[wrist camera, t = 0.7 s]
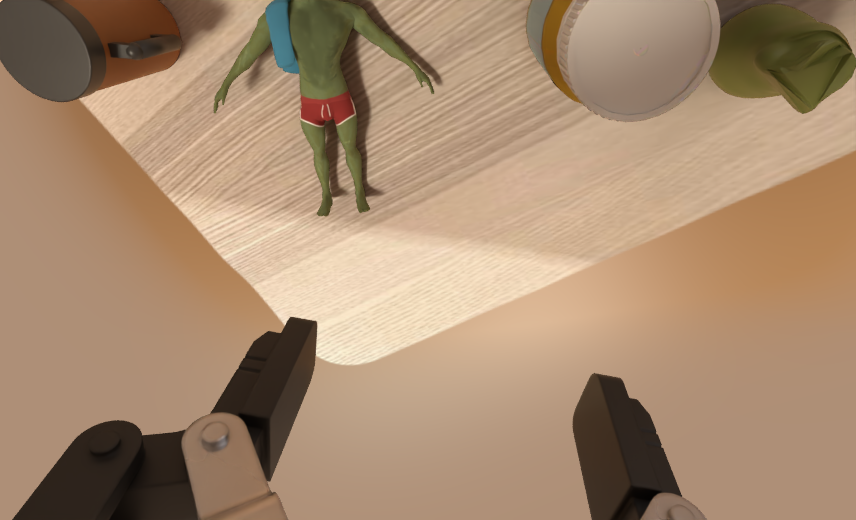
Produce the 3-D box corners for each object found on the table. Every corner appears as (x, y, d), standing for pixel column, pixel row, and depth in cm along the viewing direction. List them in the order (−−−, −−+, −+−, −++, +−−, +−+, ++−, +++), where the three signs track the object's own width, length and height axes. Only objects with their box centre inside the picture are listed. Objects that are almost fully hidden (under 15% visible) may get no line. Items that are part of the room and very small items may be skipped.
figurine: (243, 227, 38) (162, -42, 29) (254, 205, 42) (184, -43, 32) (441, 207, 39) (426, -63, 29) (436, 187, 42) (421, -61, 33)
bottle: (536, 86, 36) (570, 150, 23) (515, -20, 32) (541, -15, 20) (636, 56, 34) (734, 106, 21) (624, -58, 31) (731, -80, 18)
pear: (798, 42, 33) (912, 66, 24) (728, 105, 35) (810, 147, 27) (746, -17, 31) (848, -13, 23) (677, 53, 34) (746, 80, 25)
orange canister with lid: (117, 69, 38) (11, 98, 29) (97, -14, 35) (-27, -10, 26) (210, 77, 37) (131, 108, 29) (197, -6, 34) (105, 1, 26)
